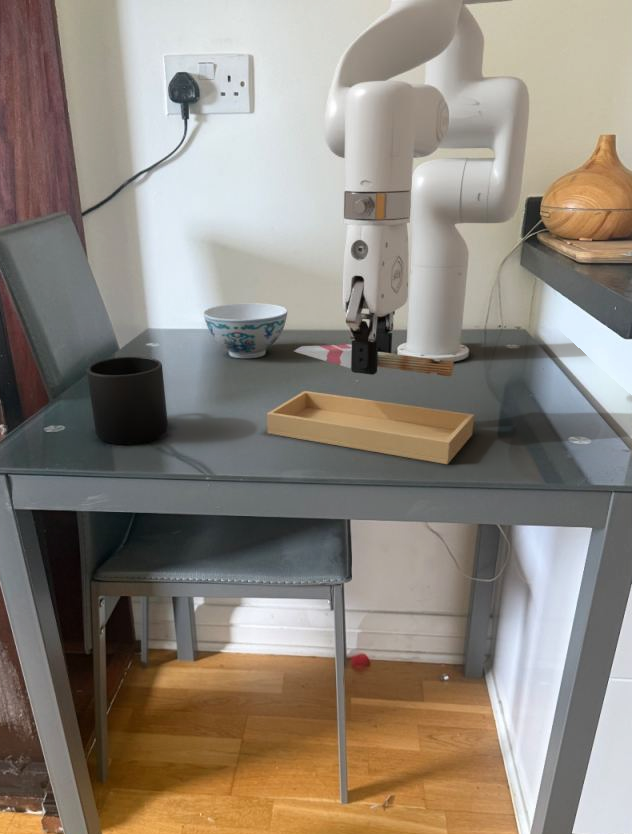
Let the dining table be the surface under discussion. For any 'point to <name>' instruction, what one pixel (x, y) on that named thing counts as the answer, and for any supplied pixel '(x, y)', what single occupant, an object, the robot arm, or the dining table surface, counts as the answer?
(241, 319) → the chinaware
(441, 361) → the folding fan
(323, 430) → the brush tray
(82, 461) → the dining table surface
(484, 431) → the dining table surface
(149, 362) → the mug
